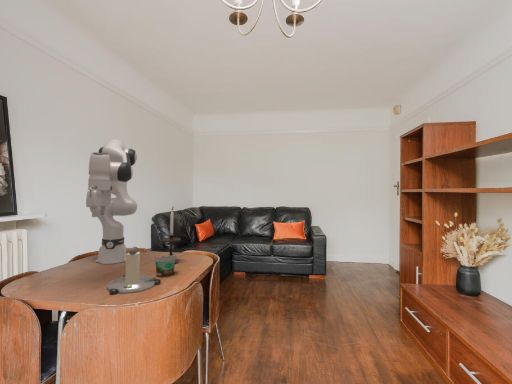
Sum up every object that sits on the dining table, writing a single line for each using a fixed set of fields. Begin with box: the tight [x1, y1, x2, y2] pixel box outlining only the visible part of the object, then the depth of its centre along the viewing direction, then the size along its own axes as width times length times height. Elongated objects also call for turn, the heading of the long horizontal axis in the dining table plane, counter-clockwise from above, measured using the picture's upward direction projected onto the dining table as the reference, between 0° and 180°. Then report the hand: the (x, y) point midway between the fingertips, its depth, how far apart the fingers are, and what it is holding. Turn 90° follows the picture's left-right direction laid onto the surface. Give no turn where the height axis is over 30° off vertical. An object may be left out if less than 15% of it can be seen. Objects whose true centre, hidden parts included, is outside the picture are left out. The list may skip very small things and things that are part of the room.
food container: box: [153, 252, 178, 278], centre depth 133 cm, size 12×6×10 cm, turn 148°
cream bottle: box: [125, 246, 142, 284], centre depth 118 cm, size 6×5×15 cm
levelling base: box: [107, 274, 162, 296], centre depth 118 cm, size 21×22×2 cm
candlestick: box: [161, 206, 181, 265], centre depth 158 cm, size 11×11×35 cm
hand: (98, 216), depth 120 cm, fingers open, 8 cm apart
